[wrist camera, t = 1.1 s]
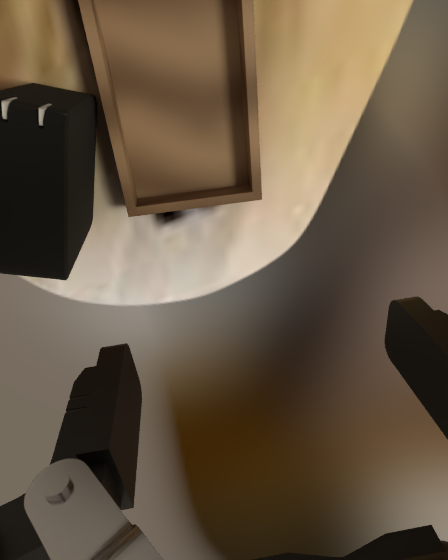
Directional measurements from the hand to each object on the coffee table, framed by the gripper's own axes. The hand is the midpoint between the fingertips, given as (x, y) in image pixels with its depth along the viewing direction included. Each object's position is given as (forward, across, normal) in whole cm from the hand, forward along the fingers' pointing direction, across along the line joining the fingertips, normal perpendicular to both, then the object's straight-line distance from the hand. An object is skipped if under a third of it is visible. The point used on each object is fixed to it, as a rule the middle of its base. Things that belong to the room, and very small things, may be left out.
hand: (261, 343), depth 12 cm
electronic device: (+23, +10, -2) cm, 25 cm away
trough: (+22, +1, -6) cm, 23 cm away
